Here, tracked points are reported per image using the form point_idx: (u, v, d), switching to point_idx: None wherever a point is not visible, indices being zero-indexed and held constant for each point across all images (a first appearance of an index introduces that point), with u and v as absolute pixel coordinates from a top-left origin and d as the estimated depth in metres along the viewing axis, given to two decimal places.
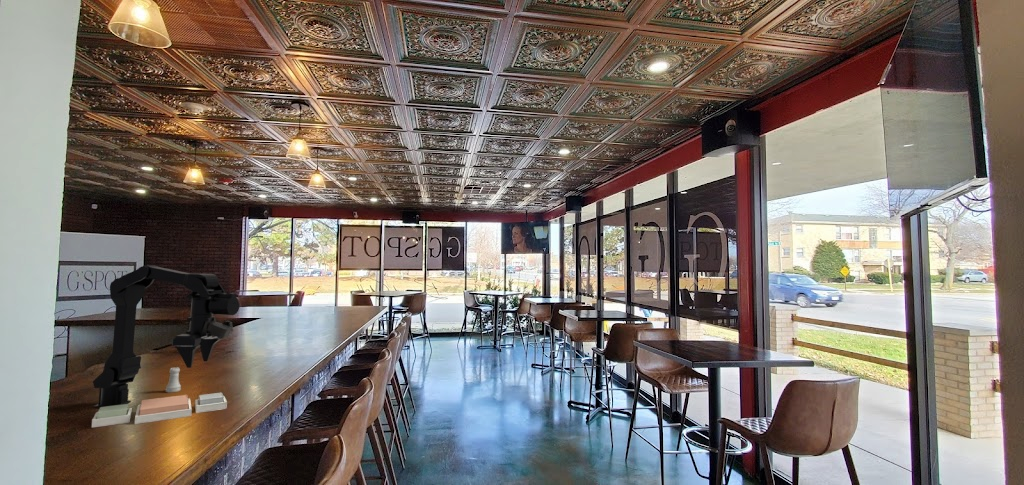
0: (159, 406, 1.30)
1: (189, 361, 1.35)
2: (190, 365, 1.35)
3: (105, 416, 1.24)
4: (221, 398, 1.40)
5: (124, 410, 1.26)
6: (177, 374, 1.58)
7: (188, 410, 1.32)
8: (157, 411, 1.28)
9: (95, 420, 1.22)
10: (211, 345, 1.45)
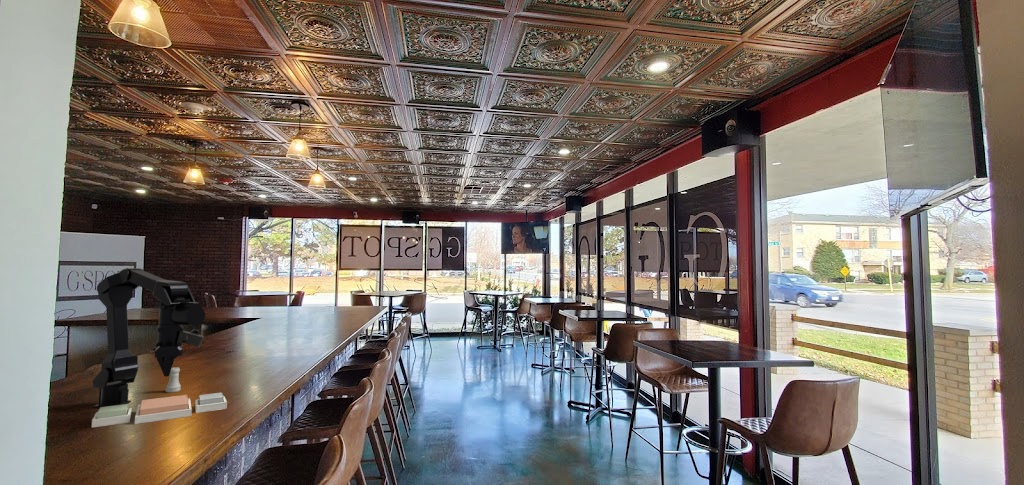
0: (159, 406, 1.30)
1: (168, 370, 1.34)
2: (168, 374, 1.34)
3: (105, 416, 1.24)
4: (221, 398, 1.40)
5: (124, 410, 1.26)
6: (177, 374, 1.58)
7: (188, 410, 1.32)
8: (157, 411, 1.28)
9: (95, 420, 1.22)
10: None
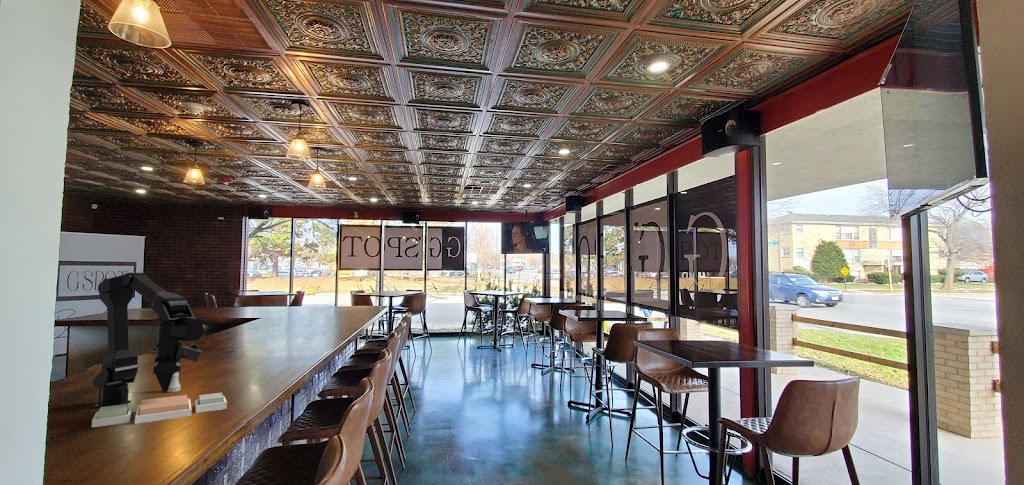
0: (159, 406, 1.30)
1: (167, 385, 1.34)
2: (167, 389, 1.34)
3: (105, 416, 1.24)
4: (221, 398, 1.40)
5: (124, 410, 1.26)
6: (177, 374, 1.58)
7: (188, 410, 1.32)
8: (157, 411, 1.28)
9: (95, 420, 1.22)
10: None
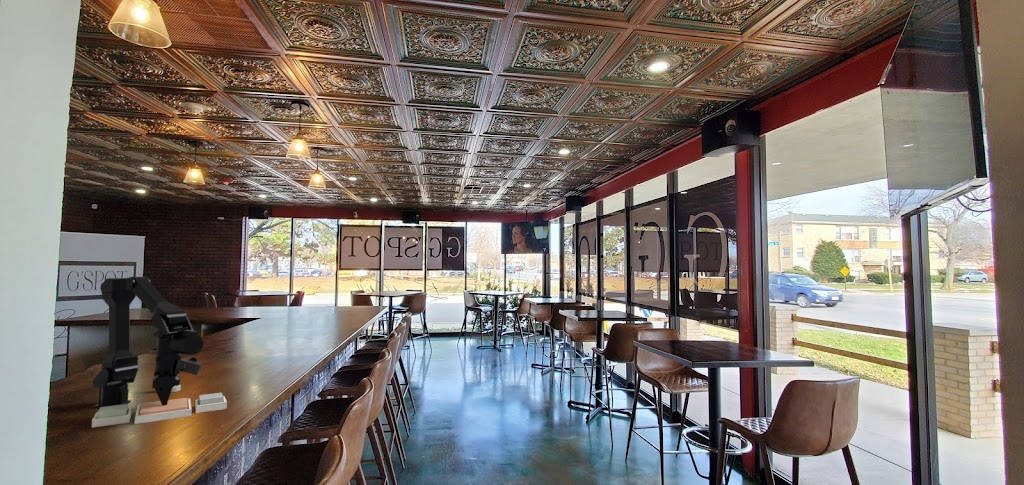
0: (159, 409, 1.29)
1: (166, 398, 1.33)
2: (166, 402, 1.34)
3: (105, 416, 1.24)
4: (221, 398, 1.40)
5: (124, 410, 1.26)
6: None
7: (188, 410, 1.32)
8: None
9: (95, 420, 1.22)
10: None
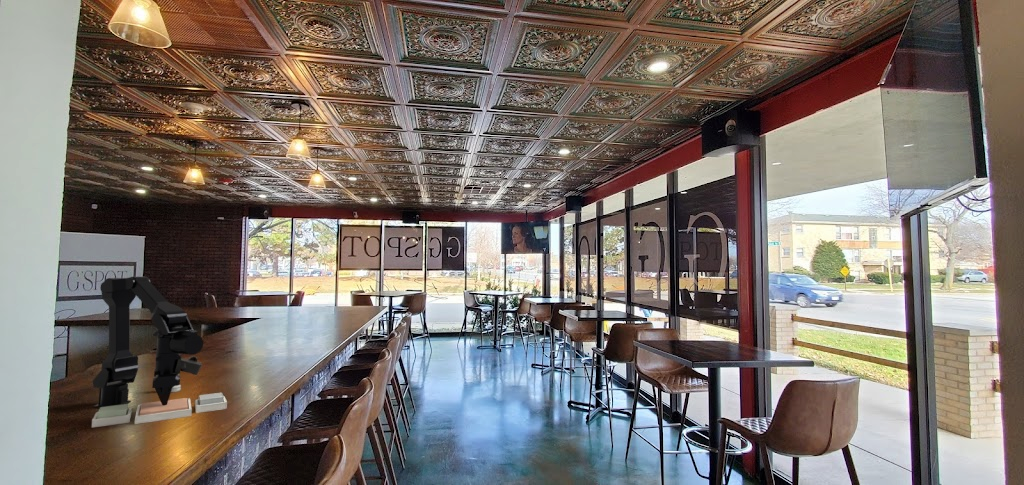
0: (159, 409, 1.29)
1: (166, 398, 1.33)
2: (166, 402, 1.34)
3: (105, 416, 1.24)
4: (221, 398, 1.40)
5: (124, 410, 1.26)
6: None
7: (188, 410, 1.32)
8: None
9: (95, 420, 1.22)
10: None
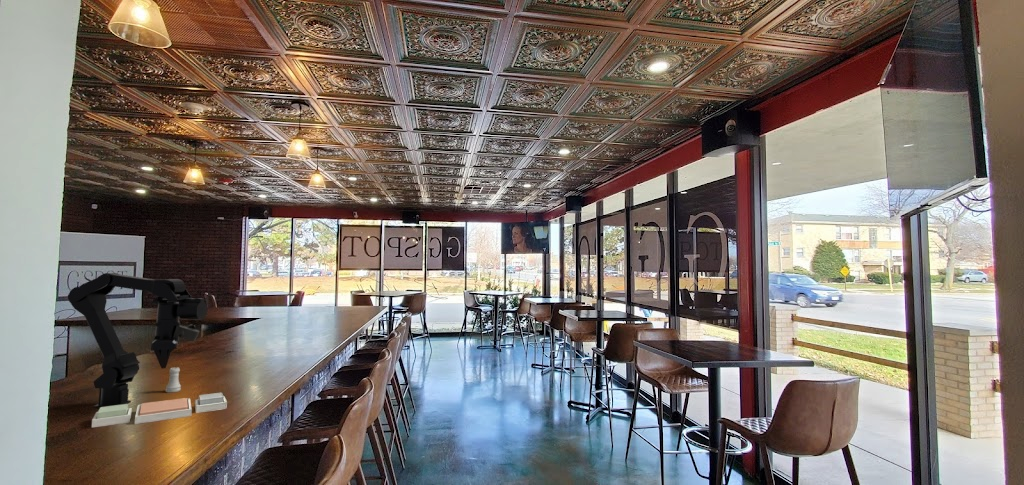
0: (159, 409, 1.29)
1: (165, 362, 1.42)
2: (165, 366, 1.42)
3: (105, 416, 1.24)
4: (221, 398, 1.40)
5: (124, 410, 1.26)
6: (177, 374, 1.58)
7: (188, 410, 1.32)
8: None
9: (95, 420, 1.22)
10: None
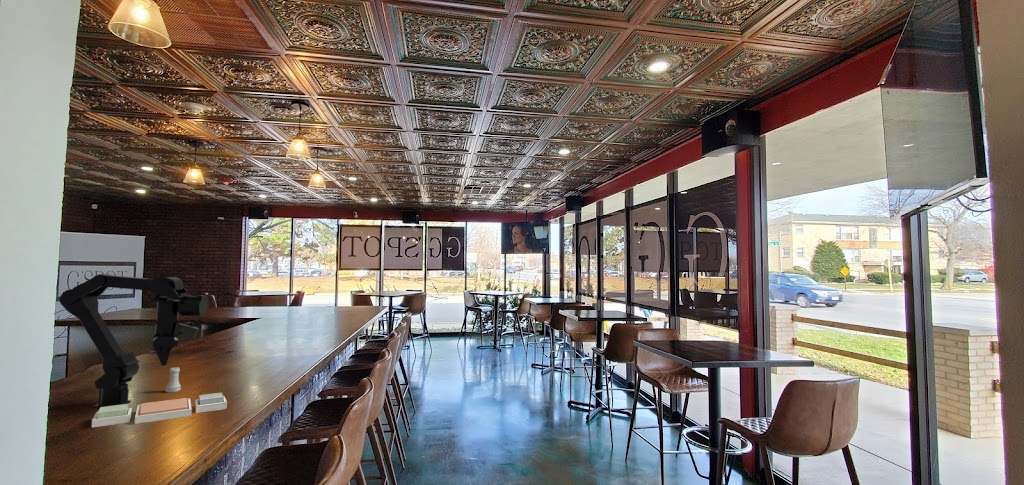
0: (159, 409, 1.29)
1: (165, 359, 1.44)
2: (165, 363, 1.44)
3: (105, 416, 1.24)
4: (221, 398, 1.40)
5: (124, 410, 1.26)
6: (177, 374, 1.58)
7: (188, 410, 1.32)
8: None
9: (95, 420, 1.22)
10: None
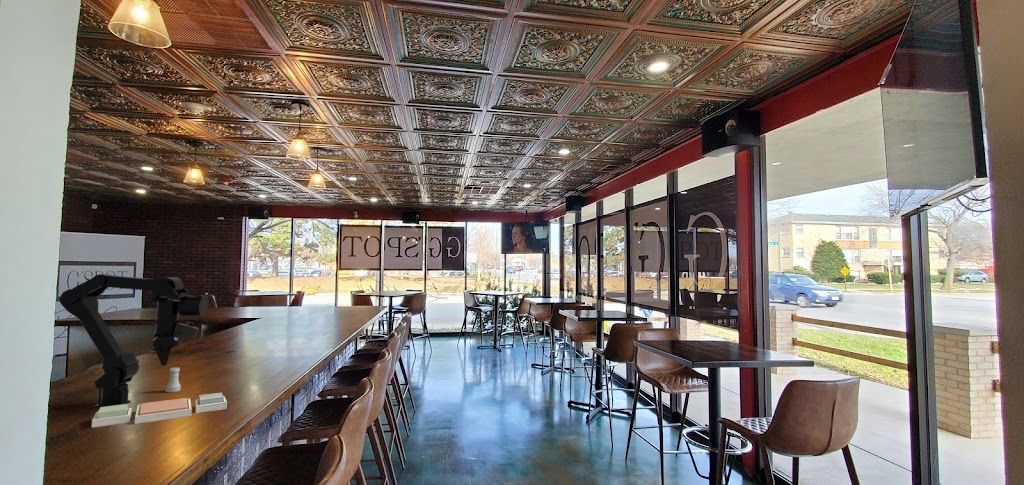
0: (159, 409, 1.29)
1: (165, 359, 1.44)
2: (165, 363, 1.44)
3: (105, 416, 1.24)
4: (221, 398, 1.40)
5: (124, 410, 1.26)
6: (177, 374, 1.58)
7: (188, 410, 1.32)
8: None
9: (95, 420, 1.22)
10: None
